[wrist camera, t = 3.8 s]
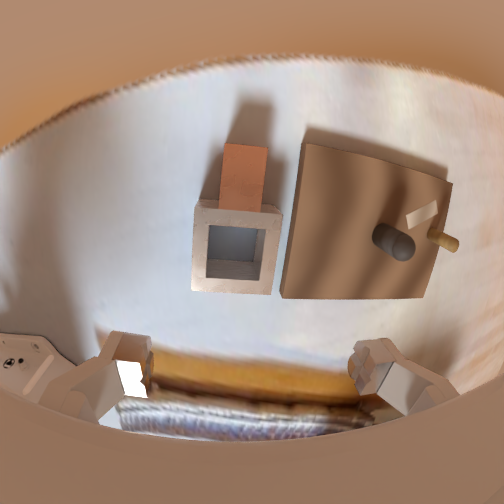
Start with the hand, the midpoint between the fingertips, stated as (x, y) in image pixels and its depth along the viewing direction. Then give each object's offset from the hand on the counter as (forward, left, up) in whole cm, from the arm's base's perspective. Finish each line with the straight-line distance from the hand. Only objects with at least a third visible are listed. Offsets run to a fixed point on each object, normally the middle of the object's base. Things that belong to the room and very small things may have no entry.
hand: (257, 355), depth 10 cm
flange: (0, +2, -15) cm, 15 cm away
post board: (+14, +2, -15) cm, 21 cm away
